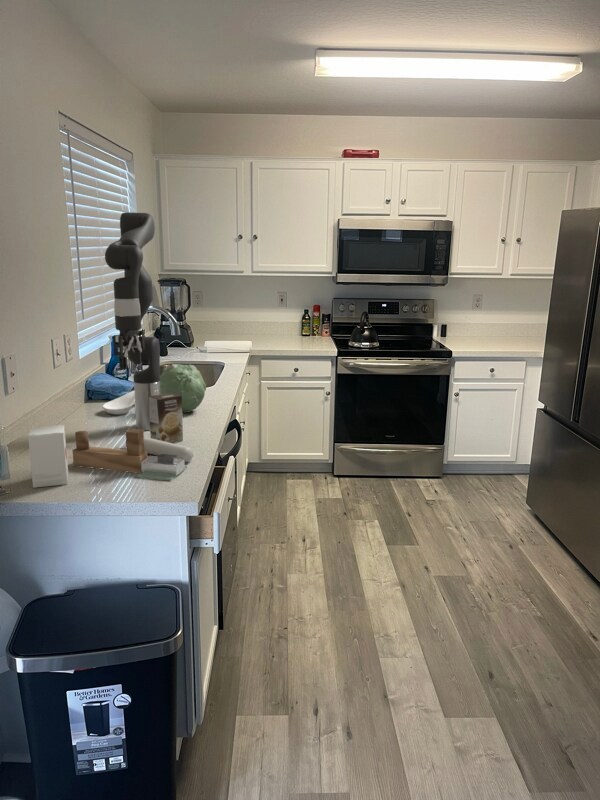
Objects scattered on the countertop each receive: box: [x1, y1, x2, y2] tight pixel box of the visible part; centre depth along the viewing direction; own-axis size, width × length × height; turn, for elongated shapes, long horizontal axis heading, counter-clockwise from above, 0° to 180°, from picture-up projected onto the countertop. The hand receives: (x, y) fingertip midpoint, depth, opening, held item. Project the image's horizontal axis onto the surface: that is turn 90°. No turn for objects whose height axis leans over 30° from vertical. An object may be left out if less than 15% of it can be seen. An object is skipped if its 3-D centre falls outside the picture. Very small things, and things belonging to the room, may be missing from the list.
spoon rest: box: [102, 390, 135, 416], centre depth 237 cm, size 24×12×7 cm, turn 153°
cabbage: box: [160, 363, 207, 414], centre depth 232 cm, size 16×19×20 cm
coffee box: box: [149, 393, 184, 444], centre depth 195 cm, size 9×6×16 cm
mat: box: [137, 465, 188, 482], centre depth 169 cm, size 11×10×1 cm
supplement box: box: [27, 424, 69, 488], centre depth 160 cm, size 9×9×15 cm
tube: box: [125, 436, 194, 463], centre depth 182 cm, size 5×5×25 cm
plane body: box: [72, 428, 149, 474], centre depth 171 cm, size 4×22×12 cm, turn 77°
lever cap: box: [141, 454, 186, 477], centre depth 168 cm, size 6×11×5 cm, turn 76°
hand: (130, 366), depth 178 cm, fingers open, 8 cm apart
